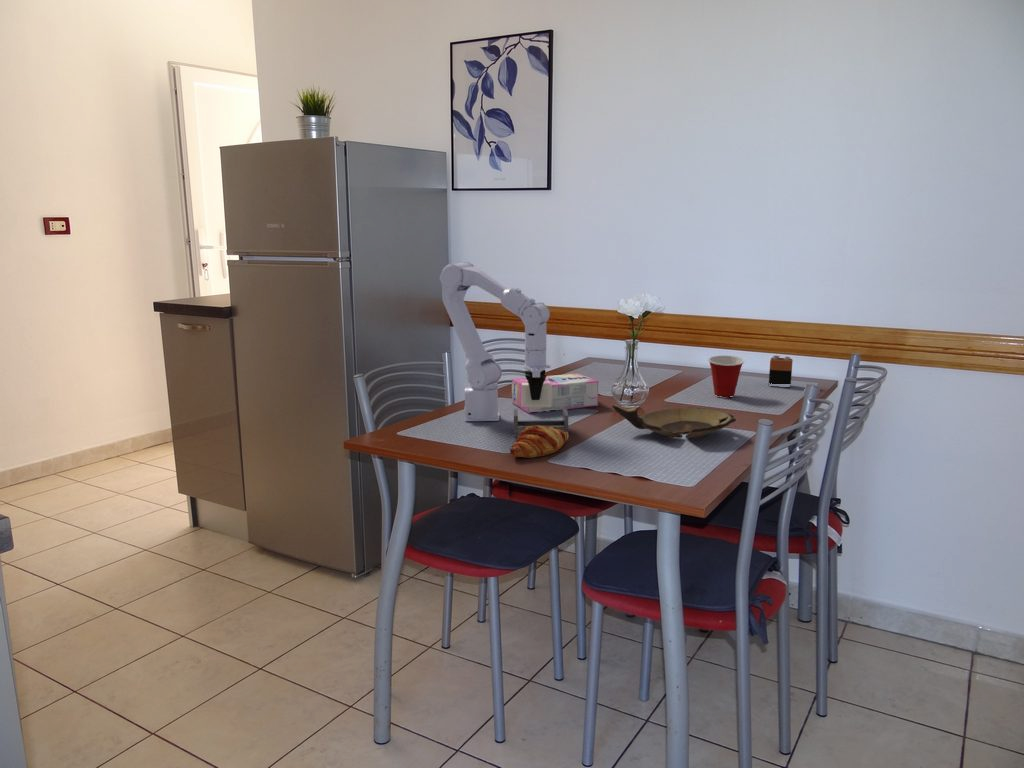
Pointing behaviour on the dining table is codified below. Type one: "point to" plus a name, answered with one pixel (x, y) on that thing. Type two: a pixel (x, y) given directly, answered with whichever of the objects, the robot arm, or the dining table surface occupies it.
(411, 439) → the dining table surface
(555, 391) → the gum box
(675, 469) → the dining table surface
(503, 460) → the dining table surface
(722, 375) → the plastic cup
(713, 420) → the oil lamp
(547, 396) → the cream rectangular block
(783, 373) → the battery
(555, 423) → the grey metal bracket
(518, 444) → the croissant
